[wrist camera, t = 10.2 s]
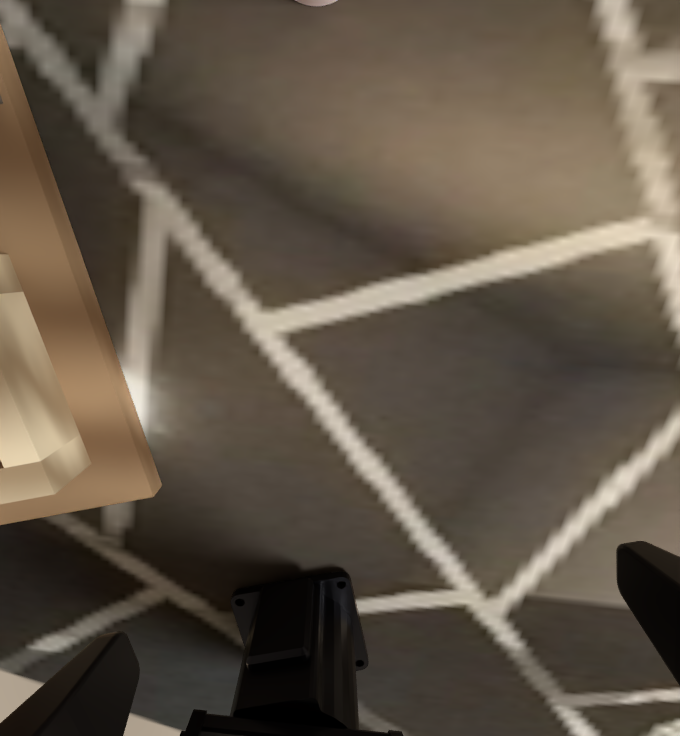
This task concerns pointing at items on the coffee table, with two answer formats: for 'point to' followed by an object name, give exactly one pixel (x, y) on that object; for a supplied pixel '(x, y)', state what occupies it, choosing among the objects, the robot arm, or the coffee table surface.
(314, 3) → the smoothie
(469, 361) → the coffee table surface
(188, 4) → the coffee table surface
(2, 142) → the socket board
